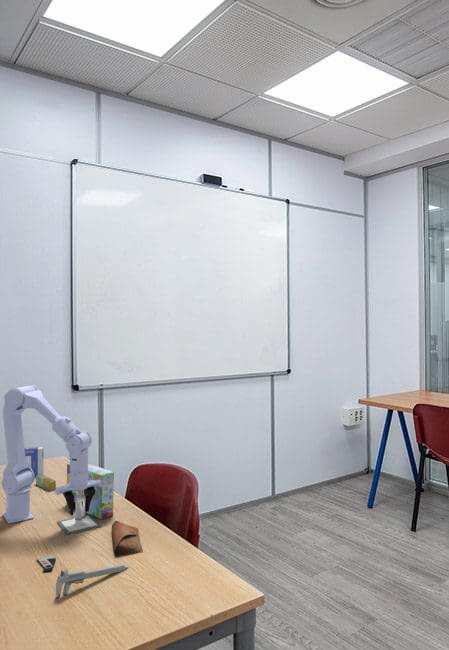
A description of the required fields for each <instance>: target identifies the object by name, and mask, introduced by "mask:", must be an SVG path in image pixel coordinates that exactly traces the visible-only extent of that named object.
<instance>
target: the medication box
mask: <svg viewBox="0 0 449 650" xmlns="http://www.w3.org/2000/svg"><path fill="white" fill-rule="evenodd" d="M35 484H36V485H37V486H39V487H40V488H42V489H44V490H46V491H49V492H53V491H55V487H57V486H56V485H57V483H56V480H55V479H53V478H51V477H48V476H46V475H44V474H38V475H36V477H35Z"/></svg>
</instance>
